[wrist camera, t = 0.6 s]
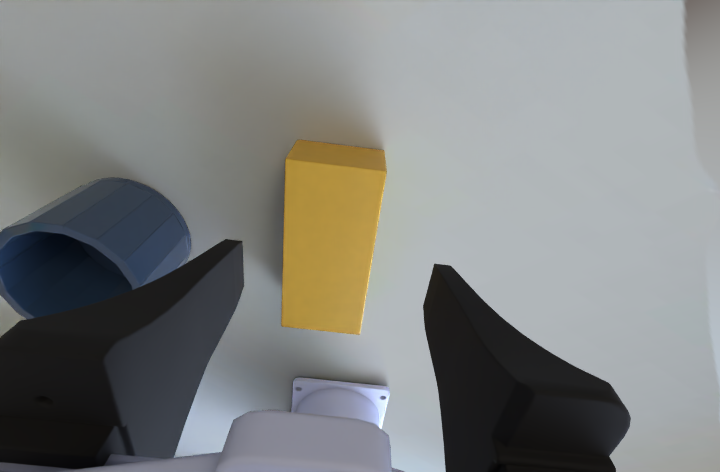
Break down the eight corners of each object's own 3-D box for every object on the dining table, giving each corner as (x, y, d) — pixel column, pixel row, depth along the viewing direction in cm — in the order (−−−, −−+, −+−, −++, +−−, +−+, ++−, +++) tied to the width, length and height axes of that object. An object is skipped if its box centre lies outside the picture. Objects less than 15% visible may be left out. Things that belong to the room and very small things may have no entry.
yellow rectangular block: (361, 299, 27) (359, 335, 24) (291, 292, 27) (281, 326, 24) (384, 150, 21) (386, 171, 18) (297, 139, 21) (284, 158, 18)
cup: (196, 285, 26) (153, 349, 21) (86, 272, 26) (16, 334, 21) (184, 185, 23) (129, 233, 17) (56, 169, 22) (-39, 214, 17)
